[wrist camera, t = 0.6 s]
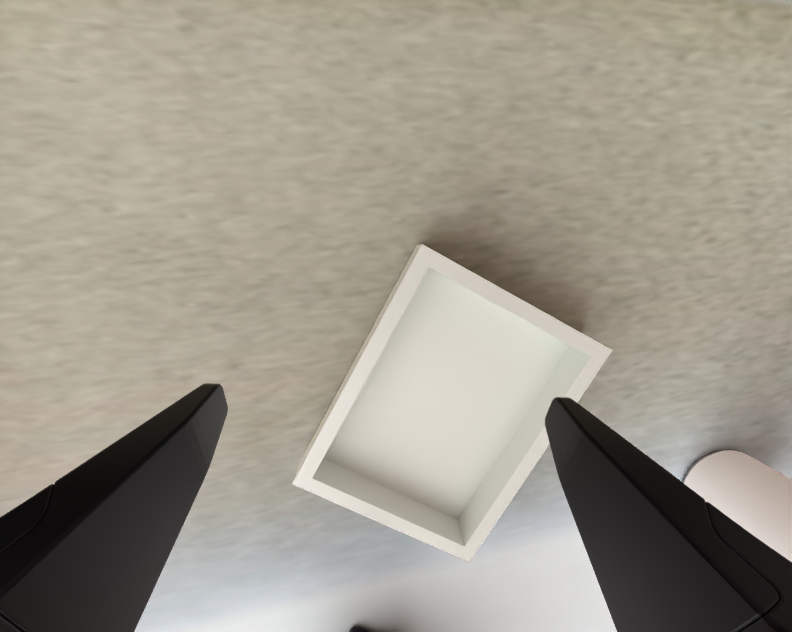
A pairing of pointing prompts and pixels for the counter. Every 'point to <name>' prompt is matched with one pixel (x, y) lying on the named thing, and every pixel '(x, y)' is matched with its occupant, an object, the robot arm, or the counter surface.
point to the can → (747, 495)
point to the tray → (446, 406)
